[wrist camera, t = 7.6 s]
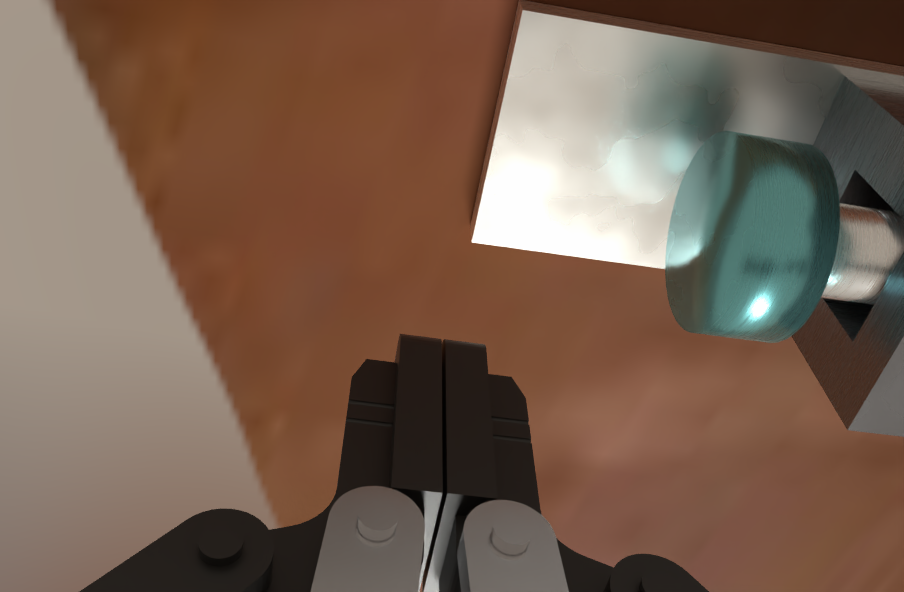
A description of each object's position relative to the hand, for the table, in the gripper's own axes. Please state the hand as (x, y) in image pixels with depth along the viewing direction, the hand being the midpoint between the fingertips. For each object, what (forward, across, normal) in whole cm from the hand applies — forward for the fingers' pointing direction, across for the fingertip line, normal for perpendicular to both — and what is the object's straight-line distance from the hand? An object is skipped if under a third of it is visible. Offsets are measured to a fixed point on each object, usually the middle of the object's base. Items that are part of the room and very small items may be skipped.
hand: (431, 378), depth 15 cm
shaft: (+9, -13, 0) cm, 16 cm away
